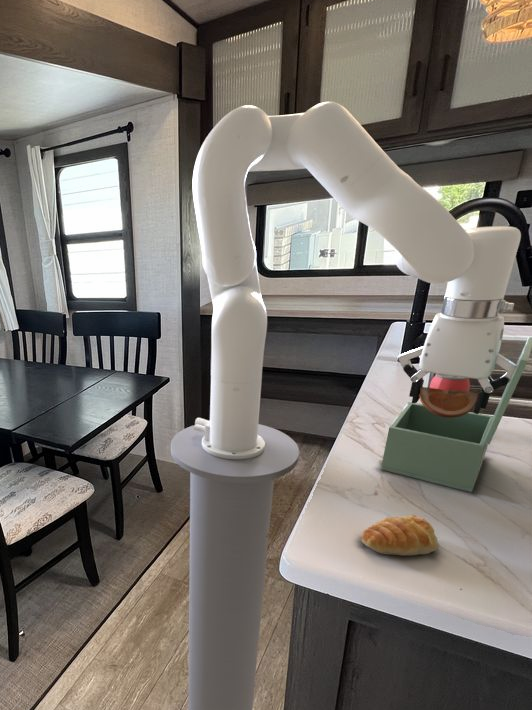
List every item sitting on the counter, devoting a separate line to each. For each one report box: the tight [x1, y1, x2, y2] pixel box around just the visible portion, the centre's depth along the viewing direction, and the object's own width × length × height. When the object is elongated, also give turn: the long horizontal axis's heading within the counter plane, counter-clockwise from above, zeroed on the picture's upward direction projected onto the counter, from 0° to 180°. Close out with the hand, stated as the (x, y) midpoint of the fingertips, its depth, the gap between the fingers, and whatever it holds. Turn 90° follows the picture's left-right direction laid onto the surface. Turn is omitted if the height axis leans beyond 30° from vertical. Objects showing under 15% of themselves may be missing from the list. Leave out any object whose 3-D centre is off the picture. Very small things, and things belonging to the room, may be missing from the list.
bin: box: [380, 401, 494, 493], centre depth 87 cm, size 14×15×9 cm
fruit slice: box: [418, 386, 479, 418], centre depth 83 cm, size 8×7×5 cm
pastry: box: [361, 514, 439, 557], centre depth 69 cm, size 9×7×4 cm
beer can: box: [429, 374, 471, 392], centre depth 99 cm, size 7×7×12 cm
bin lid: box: [483, 336, 532, 446], centre depth 75 cm, size 14×15×6 cm
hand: (445, 405), depth 84 cm, fingers closed on fruit slice, 8 cm apart
